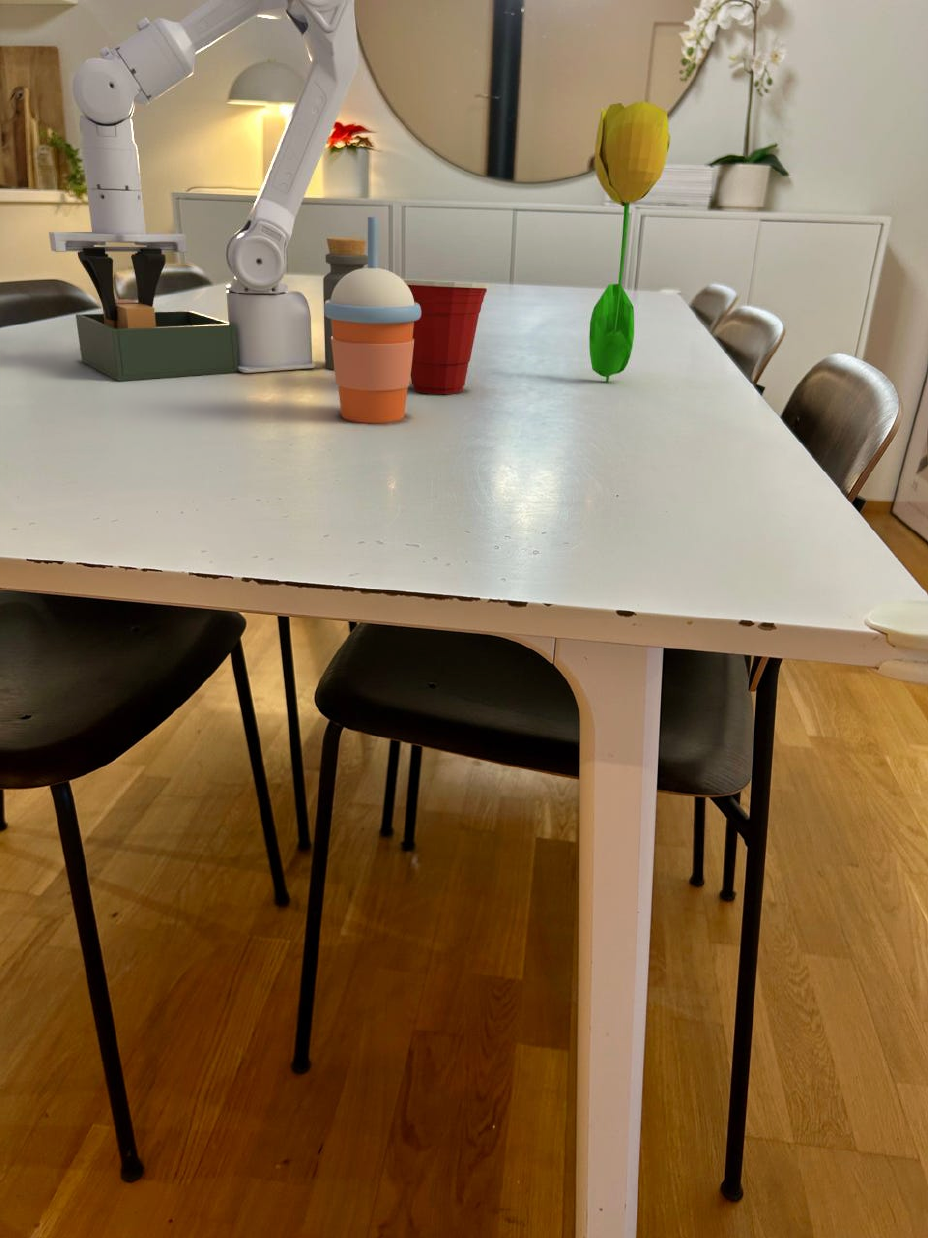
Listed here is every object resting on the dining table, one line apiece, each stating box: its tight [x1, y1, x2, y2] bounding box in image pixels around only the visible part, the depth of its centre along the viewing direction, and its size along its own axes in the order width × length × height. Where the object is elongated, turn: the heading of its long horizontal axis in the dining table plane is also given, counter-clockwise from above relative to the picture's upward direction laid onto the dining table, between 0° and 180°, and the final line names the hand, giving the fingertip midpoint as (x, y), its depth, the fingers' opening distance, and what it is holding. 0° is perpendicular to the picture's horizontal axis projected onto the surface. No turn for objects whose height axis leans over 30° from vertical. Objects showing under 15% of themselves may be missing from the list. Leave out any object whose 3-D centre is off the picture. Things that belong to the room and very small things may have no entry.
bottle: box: [322, 237, 368, 370], centre depth 111 cm, size 6×6×15 cm
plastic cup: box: [402, 279, 491, 395], centre depth 100 cm, size 11×11×12 cm
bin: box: [75, 310, 240, 382], centre depth 108 cm, size 14×14×6 cm
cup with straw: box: [323, 216, 421, 424], centre depth 85 cm, size 9×9×18 cm
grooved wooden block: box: [101, 298, 156, 329], centre depth 105 cm, size 3×9×3 cm, turn 36°
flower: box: [588, 100, 671, 384], centre depth 105 cm, size 9×8×30 cm
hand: (128, 318), depth 105 cm, fingers closed on grooved wooden block, 3 cm apart
